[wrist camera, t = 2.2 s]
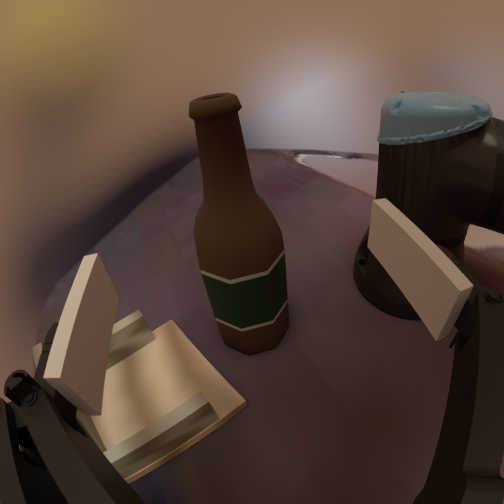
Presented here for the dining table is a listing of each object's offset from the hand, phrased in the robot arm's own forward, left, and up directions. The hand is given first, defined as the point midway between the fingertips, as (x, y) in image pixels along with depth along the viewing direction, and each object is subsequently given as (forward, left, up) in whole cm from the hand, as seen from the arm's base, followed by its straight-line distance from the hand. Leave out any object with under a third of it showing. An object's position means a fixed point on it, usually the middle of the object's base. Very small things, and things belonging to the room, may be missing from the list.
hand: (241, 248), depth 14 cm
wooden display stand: (+10, -9, -18) cm, 23 cm away
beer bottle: (-5, -9, -19) cm, 21 cm away
